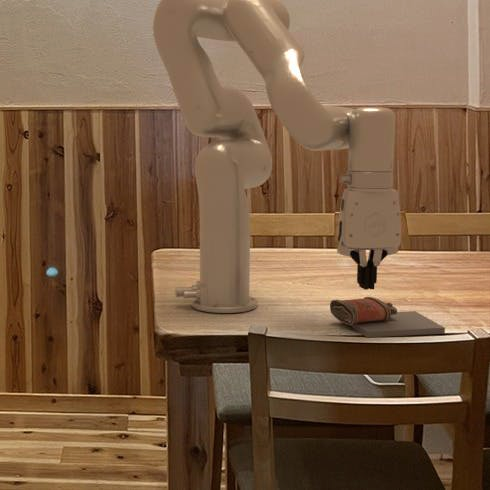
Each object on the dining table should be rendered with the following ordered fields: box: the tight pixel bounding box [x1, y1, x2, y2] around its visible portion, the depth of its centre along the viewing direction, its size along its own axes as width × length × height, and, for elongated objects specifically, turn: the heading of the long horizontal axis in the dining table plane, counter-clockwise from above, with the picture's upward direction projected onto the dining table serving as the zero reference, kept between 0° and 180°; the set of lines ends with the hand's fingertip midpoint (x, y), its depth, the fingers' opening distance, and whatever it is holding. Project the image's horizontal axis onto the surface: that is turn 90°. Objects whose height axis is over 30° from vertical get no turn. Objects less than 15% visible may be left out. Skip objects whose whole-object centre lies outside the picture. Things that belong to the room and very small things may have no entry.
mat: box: [348, 310, 446, 338], centre depth 140 cm, size 14×12×1 cm
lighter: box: [329, 296, 398, 326], centre depth 141 cm, size 8×3×10 cm
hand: (366, 287), depth 138 cm, fingers closed
